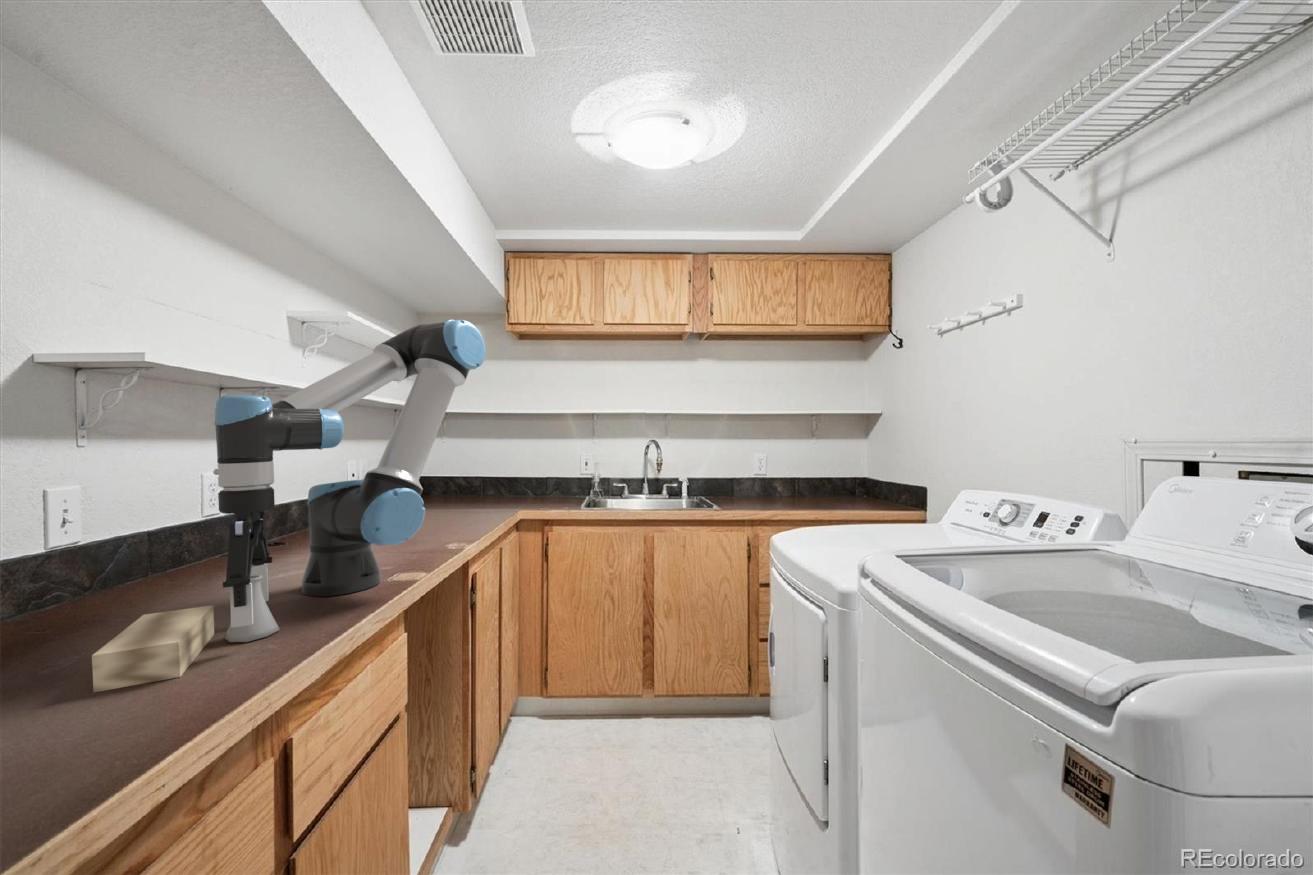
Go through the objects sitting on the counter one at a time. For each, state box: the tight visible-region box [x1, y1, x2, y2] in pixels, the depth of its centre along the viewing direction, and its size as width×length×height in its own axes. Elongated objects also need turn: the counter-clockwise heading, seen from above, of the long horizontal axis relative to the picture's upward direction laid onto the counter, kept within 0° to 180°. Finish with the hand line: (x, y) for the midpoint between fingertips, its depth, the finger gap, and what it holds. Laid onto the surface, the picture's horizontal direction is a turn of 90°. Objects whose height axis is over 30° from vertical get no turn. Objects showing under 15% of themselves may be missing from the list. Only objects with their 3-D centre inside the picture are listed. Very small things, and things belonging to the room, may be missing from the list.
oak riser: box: [91, 604, 215, 693], centre depth 83 cm, size 9×18×5 cm, turn 27°
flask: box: [224, 575, 281, 643], centre depth 92 cm, size 7×7×10 cm
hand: (251, 612), depth 92 cm, fingers open, 13 cm apart
